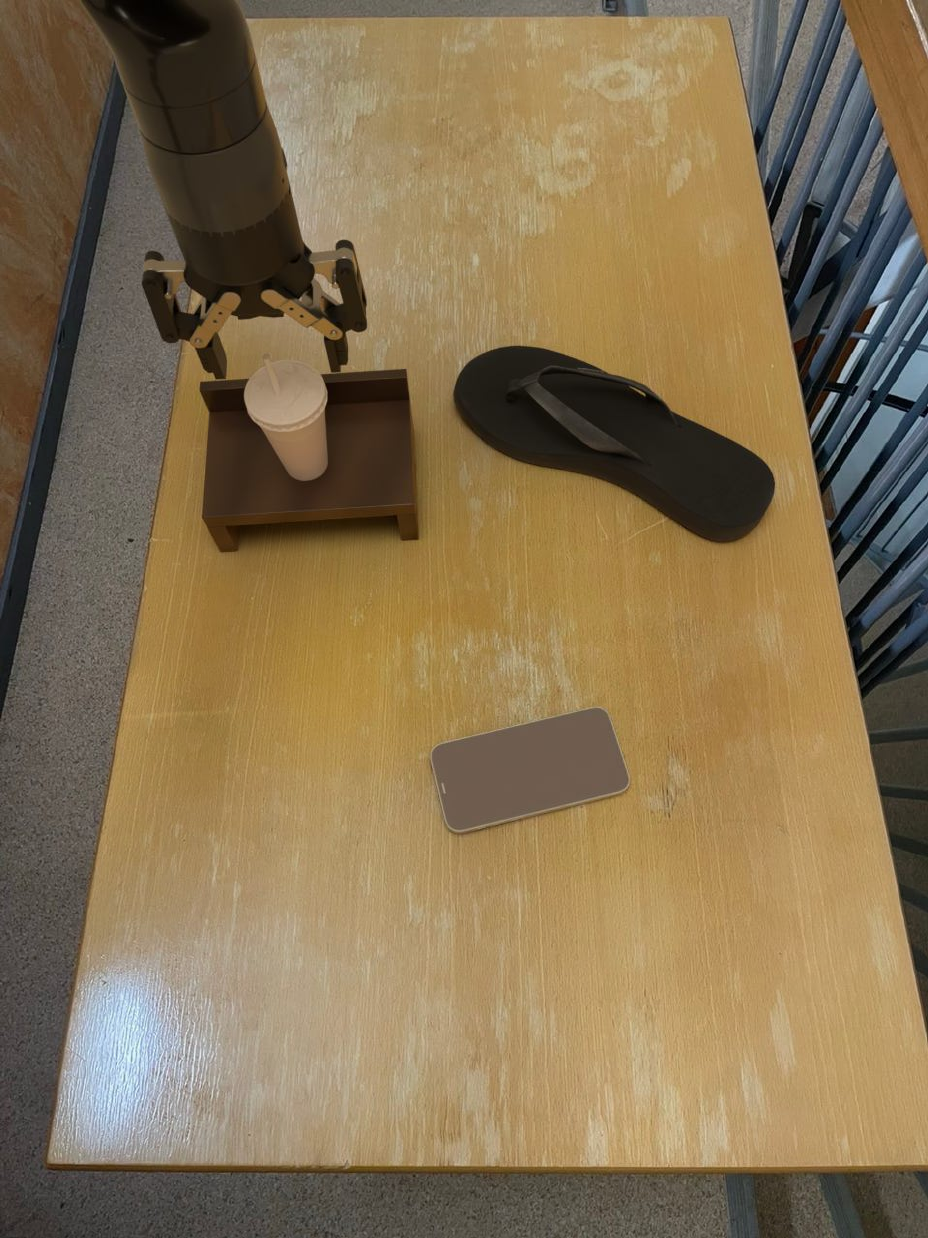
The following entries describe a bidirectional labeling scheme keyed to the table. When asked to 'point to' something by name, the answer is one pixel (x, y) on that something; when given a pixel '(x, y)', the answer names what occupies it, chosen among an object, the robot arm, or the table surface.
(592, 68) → the table surface
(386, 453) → the shelf
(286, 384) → the smoothie
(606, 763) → the smartphone
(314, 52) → the table surface
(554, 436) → the sandal
